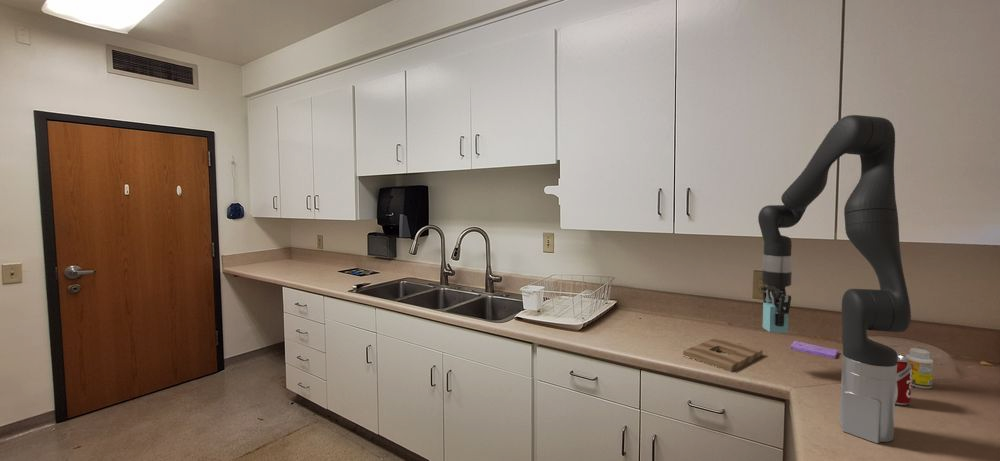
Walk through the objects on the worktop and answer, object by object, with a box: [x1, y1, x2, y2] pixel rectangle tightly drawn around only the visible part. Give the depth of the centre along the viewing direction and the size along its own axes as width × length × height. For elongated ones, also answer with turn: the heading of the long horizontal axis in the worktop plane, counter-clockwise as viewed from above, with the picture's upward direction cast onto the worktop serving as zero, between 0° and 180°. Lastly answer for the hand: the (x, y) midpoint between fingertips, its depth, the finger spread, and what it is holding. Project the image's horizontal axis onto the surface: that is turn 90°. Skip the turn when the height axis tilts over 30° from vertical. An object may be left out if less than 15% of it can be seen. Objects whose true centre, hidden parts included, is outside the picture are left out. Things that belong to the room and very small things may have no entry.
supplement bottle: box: [905, 347, 934, 389], centre depth 115 cm, size 6×6×10 cm
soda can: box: [895, 354, 912, 406], centre depth 106 cm, size 7×7×12 cm
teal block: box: [762, 302, 790, 334], centre depth 125 cm, size 5×5×8 cm
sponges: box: [790, 340, 839, 359], centre depth 142 cm, size 7×13×2 cm, turn 42°
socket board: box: [682, 337, 763, 373], centre depth 138 cm, size 22×16×2 cm
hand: (775, 323), depth 125 cm, fingers closed on teal block, 5 cm apart
